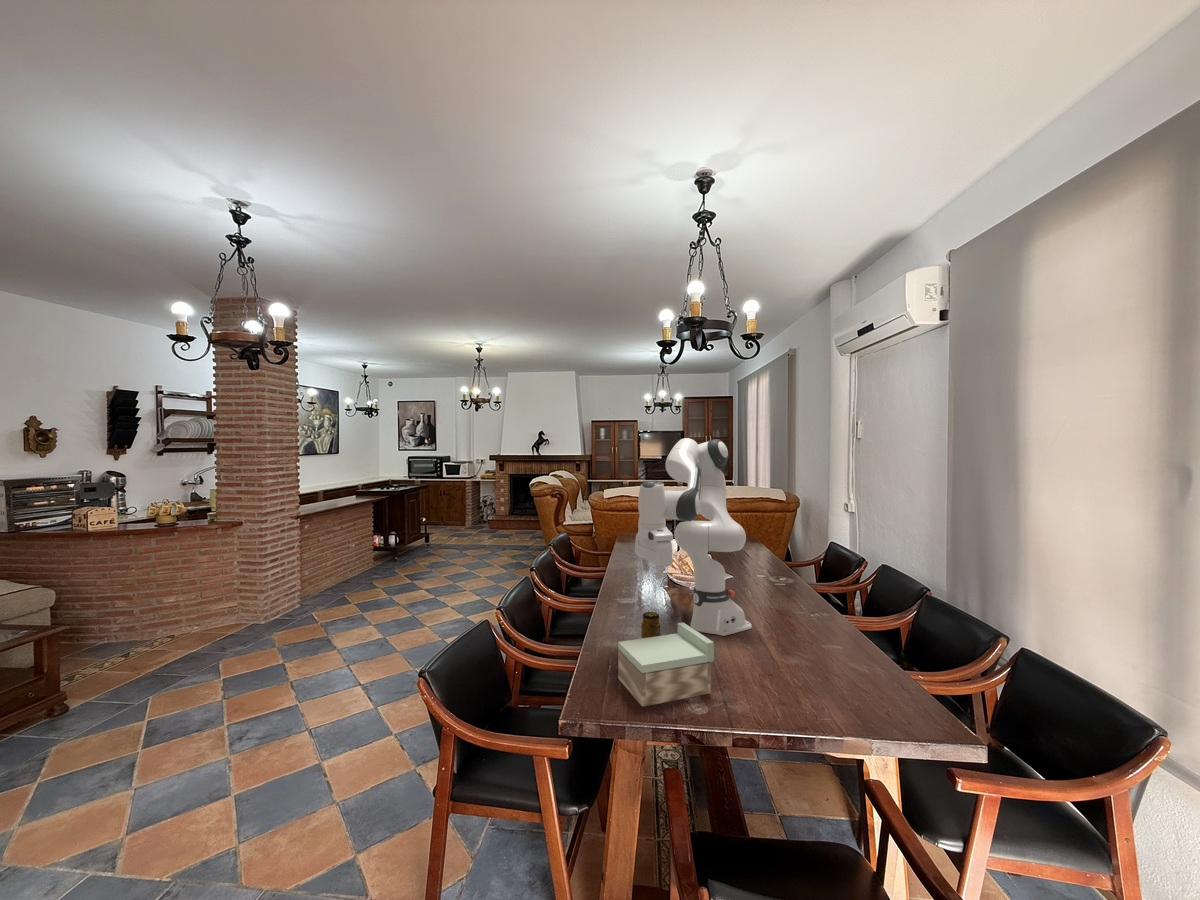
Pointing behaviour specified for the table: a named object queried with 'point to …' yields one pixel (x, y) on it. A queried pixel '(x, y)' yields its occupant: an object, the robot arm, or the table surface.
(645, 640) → the lid
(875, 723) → the table surface
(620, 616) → the table surface
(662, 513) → the robot arm
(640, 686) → the box
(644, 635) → the condiment
